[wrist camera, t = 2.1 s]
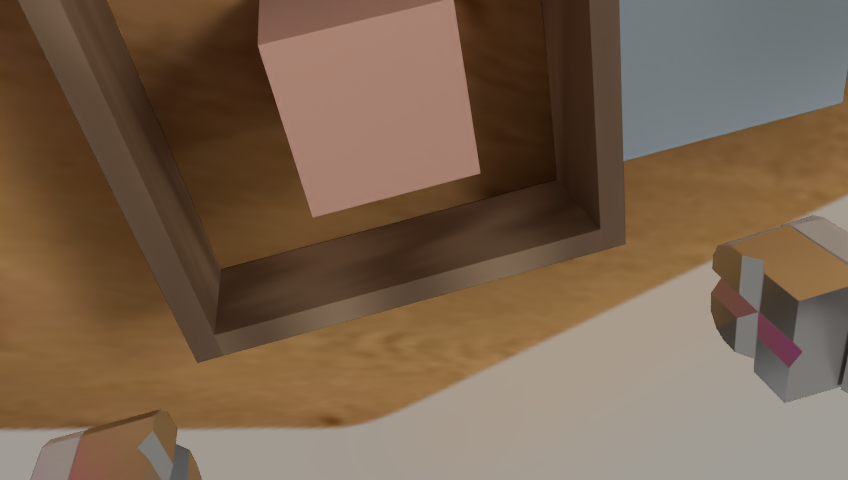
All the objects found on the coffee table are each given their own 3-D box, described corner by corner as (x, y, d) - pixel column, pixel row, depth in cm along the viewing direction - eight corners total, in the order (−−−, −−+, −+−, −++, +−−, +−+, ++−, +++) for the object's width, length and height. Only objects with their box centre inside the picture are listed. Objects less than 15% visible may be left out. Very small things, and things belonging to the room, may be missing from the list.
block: (399, -47, 24) (453, -2, 17) (424, 88, 26) (480, 173, 19) (259, -14, 23) (257, 45, 16) (300, 119, 26) (312, 217, 19)
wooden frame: (546, -315, 21) (610, -350, 17) (579, 193, 30) (625, 244, 26) (-17, -198, 19) (-86, -209, 15) (206, 294, 29) (197, 362, 25)
